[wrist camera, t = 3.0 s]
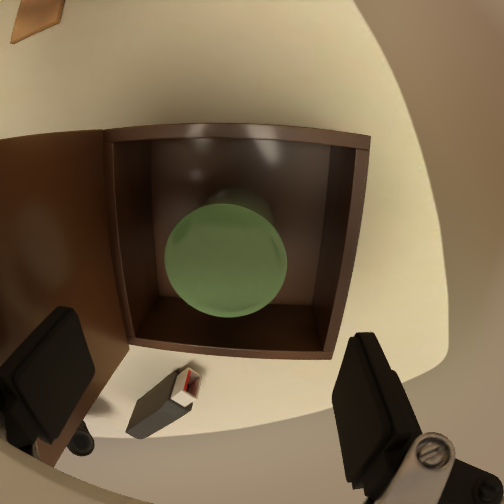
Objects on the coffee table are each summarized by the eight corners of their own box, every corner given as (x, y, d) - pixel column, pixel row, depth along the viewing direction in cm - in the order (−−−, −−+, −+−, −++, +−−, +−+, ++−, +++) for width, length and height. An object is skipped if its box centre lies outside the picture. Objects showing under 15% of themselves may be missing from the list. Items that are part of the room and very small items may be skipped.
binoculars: (0, 356, 28) (28, 334, 33) (65, 438, 31) (89, 416, 36) (-4, 362, 21) (32, 335, 26) (81, 463, 24) (111, 435, 29)
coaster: (26, -7, 13) (23, -8, 13) (73, -30, 13) (71, -32, 13) (13, 44, 16) (10, 43, 15) (59, 22, 16) (56, 21, 15)
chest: (339, 135, 20) (371, 135, 14) (317, 308, 25) (331, 360, 19) (145, 129, 20) (101, 129, 14) (154, 298, 26) (127, 344, 19)
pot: (191, 181, 21) (160, 202, 14) (283, 185, 21) (292, 207, 14) (193, 264, 23) (169, 312, 17) (276, 269, 23) (281, 320, 17)
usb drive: (124, 432, 27) (144, 443, 28) (177, 396, 23) (201, 410, 24) (136, 401, 32) (154, 412, 32) (187, 359, 28) (209, 372, 29)
